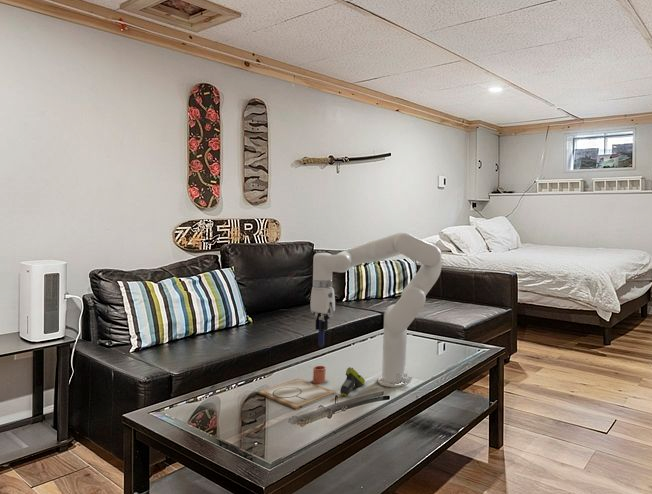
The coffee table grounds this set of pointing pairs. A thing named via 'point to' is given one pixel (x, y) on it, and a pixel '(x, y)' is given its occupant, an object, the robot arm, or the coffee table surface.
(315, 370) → the pen pot
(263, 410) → the coffee table surface
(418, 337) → the coffee table surface
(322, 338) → the pen
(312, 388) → the drawing board
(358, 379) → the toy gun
